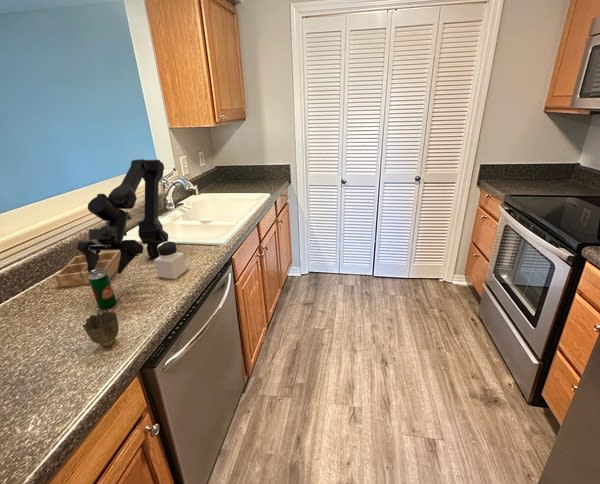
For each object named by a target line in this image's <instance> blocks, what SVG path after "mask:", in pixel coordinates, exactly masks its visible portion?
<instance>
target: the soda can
mask: <svg viewBox="0 0 600 484" xmlns="http://www.w3.org/2000/svg"><path fill="white" fill-rule="evenodd" d="M88 275H89V276H88V280H89V282H90V284H89V285H90V288H91V291H92V293H93V296H94V298H95V299H94V300H95V302H96V305H97V307H98V309H99V310H102V311H105V310H106V311H107V310H110V309H112V308H114V307H115V306H116V305H117V303H118V302H117V298H116V294H115V292H114V289H113V286H112V283H111V279H109V276H108V273H107V272H106V271H105V270H104V269H97V270H94V271H91V272H90V273H89V274H88Z"/></svg>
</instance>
